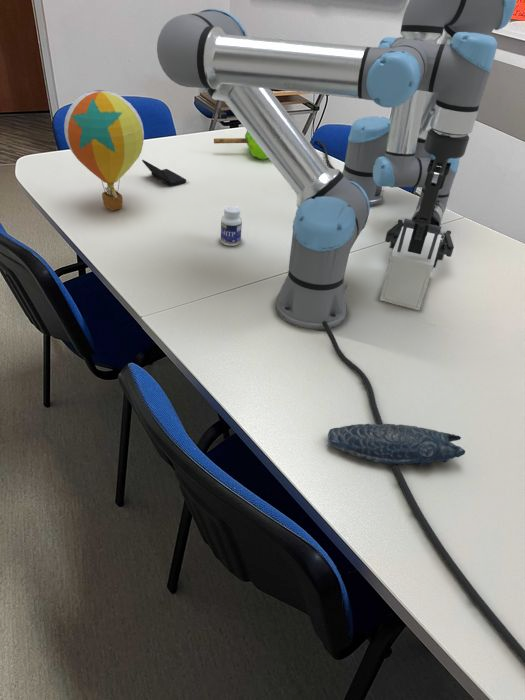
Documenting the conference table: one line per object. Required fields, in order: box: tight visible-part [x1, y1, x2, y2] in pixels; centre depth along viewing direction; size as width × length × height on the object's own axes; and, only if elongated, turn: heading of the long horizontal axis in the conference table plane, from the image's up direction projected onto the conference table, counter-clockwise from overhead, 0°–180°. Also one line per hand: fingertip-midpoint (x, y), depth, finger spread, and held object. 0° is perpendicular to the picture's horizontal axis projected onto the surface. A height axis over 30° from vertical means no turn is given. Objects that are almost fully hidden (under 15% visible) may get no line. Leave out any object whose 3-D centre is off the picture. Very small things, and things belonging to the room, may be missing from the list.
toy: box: [63, 89, 145, 212], centre depth 136 cm, size 20×20×30 cm
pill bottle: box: [220, 205, 243, 247], centre depth 132 cm, size 5×5×9 cm
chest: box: [379, 258, 433, 311], centre depth 120 cm, size 16×9×11 cm, turn 159°
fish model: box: [327, 423, 466, 466], centre depth 81 cm, size 7×21×5 cm, turn 84°
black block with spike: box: [141, 159, 187, 187], centre depth 162 cm, size 12×7×10 cm
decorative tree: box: [213, 130, 269, 161], centre depth 186 cm, size 18×10×30 cm
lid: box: [389, 218, 442, 270], centre depth 113 cm, size 16×9×8 cm, turn 159°
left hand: (417, 242), depth 110 cm, fingers open, 9 cm apart
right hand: (414, 257), depth 122 cm, fingers closed on chest, 9 cm apart
